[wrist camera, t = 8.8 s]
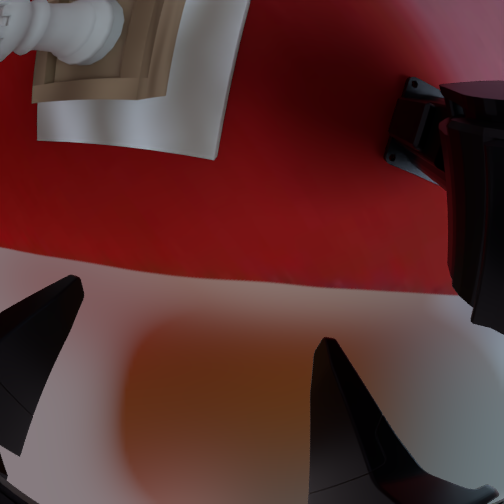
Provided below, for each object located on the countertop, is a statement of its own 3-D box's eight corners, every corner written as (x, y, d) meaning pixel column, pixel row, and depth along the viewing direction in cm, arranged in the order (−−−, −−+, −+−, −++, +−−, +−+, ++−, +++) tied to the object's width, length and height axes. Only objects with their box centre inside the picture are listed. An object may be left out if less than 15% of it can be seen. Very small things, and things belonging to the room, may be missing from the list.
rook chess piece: (71, 12, 9) (-29, 9, 2) (131, -11, 8) (31, -44, 2) (68, 73, 11) (-38, 95, 5) (127, 56, 11) (13, 57, 4)
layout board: (265, -51, 9) (259, -86, 5) (217, 156, 18) (196, 179, 14) (71, -29, 9) (32, -38, 4) (44, 137, 17) (4, 155, 13)
